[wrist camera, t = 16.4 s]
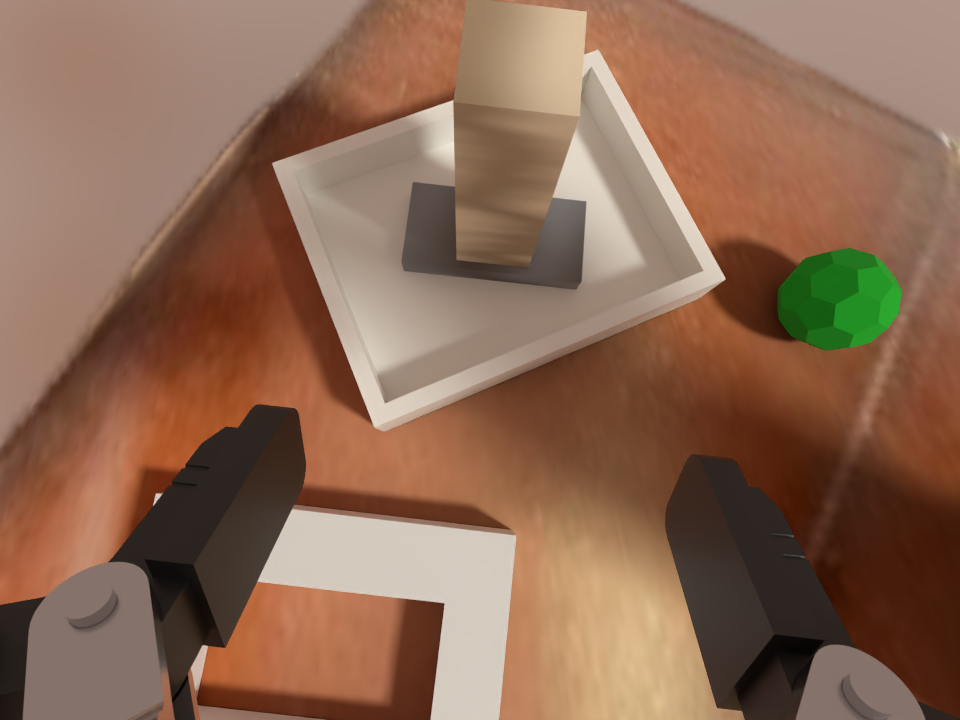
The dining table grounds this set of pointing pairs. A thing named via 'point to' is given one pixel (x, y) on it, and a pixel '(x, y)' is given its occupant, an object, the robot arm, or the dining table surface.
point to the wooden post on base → (507, 154)
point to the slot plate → (406, 592)
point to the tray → (475, 302)
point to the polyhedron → (838, 299)
